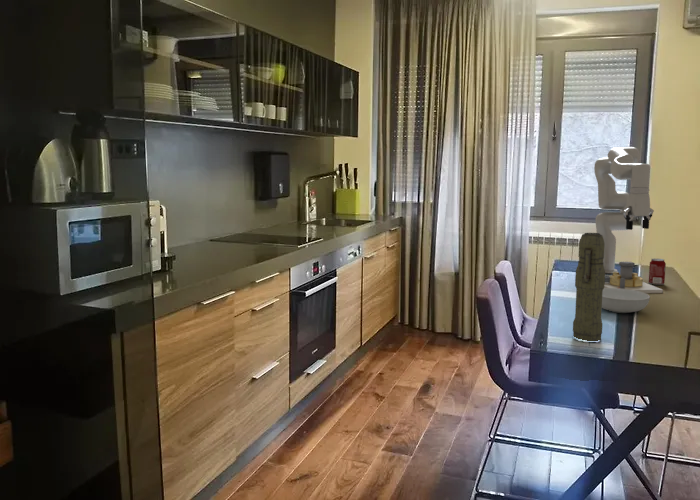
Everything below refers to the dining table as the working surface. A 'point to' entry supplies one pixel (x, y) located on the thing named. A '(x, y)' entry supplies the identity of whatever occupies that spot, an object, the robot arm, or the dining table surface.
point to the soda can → (657, 271)
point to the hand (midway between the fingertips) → (637, 229)
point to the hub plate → (627, 274)
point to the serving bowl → (623, 300)
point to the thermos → (589, 288)
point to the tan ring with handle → (632, 282)
